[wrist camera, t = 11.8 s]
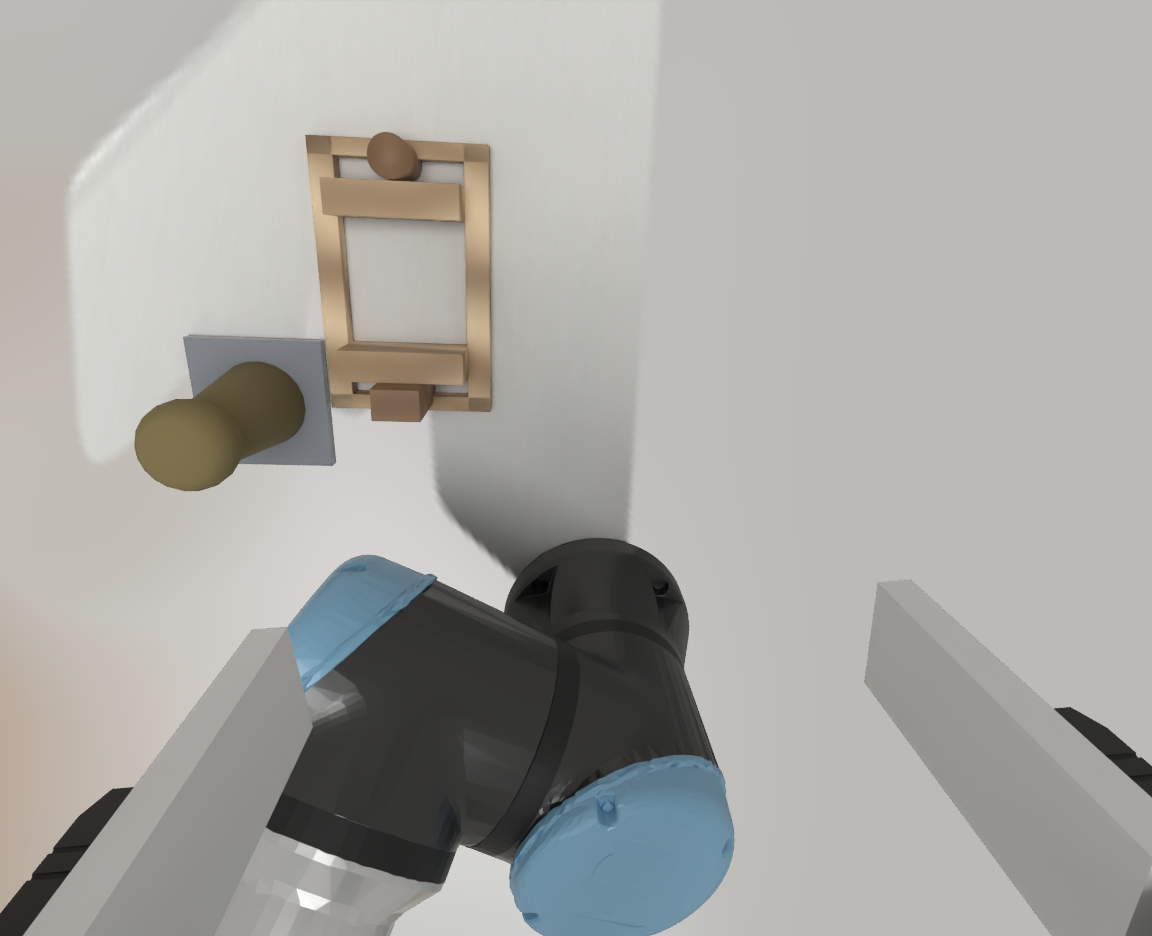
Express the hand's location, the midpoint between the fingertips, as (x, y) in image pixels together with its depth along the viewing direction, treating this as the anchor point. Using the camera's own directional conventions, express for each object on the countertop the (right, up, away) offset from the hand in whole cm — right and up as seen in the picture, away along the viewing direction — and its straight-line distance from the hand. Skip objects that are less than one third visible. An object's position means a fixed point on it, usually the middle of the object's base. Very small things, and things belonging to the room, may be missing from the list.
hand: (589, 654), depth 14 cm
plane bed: (-12, +17, +28) cm, 34 cm away
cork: (-22, +9, +29) cm, 38 cm away
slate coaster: (-23, +9, +30) cm, 39 cm away
